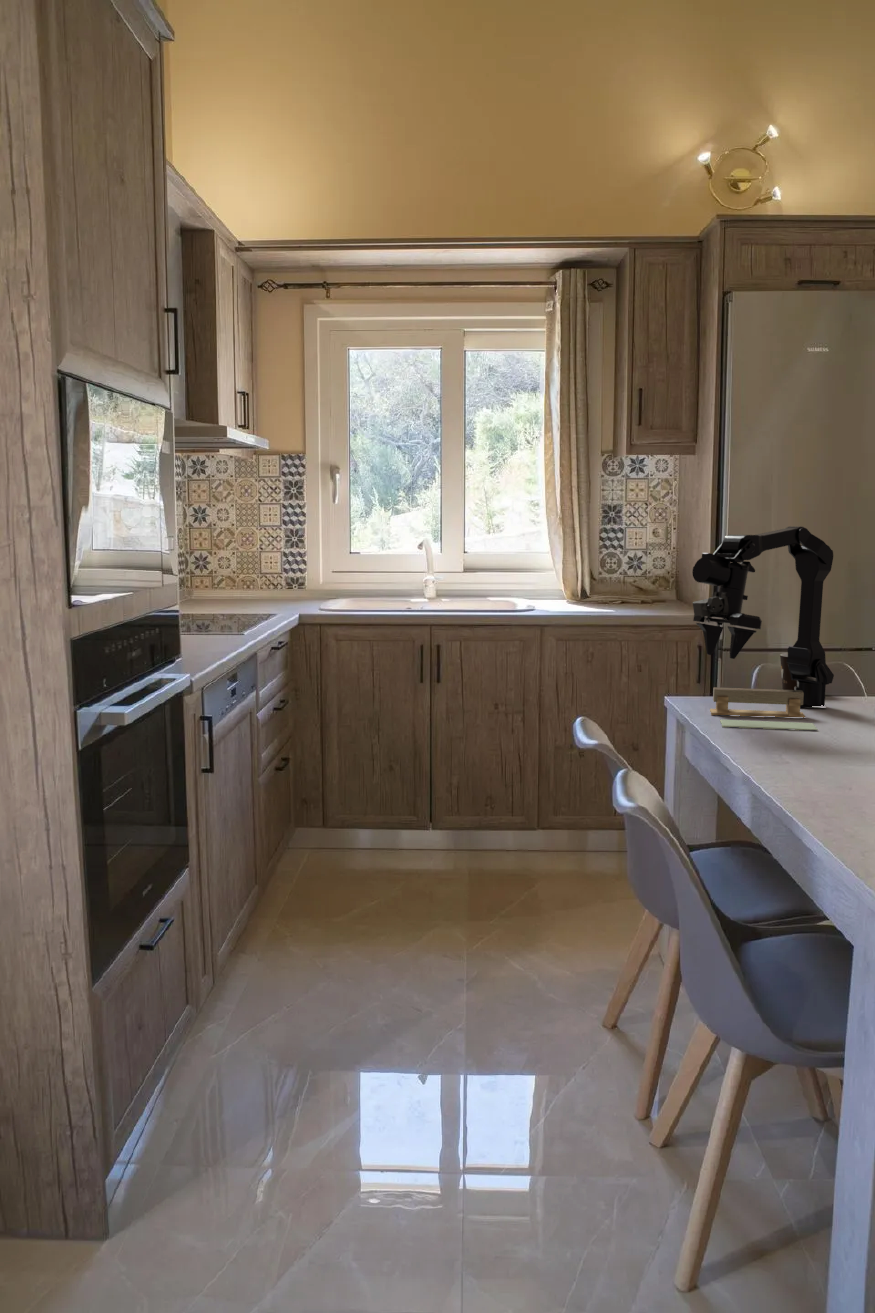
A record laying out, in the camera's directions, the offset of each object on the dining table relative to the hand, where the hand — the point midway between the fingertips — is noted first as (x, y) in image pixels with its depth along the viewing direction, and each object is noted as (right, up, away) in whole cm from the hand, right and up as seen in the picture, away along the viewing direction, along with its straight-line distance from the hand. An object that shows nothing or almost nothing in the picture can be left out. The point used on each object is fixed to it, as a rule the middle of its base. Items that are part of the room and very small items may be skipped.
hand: (720, 656), depth 230 cm
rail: (+10, -11, +6) cm, 16 cm away
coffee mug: (+31, -10, +38) cm, 50 cm away
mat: (+9, -15, -7) cm, 19 cm away
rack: (+10, -14, +6) cm, 18 cm away
